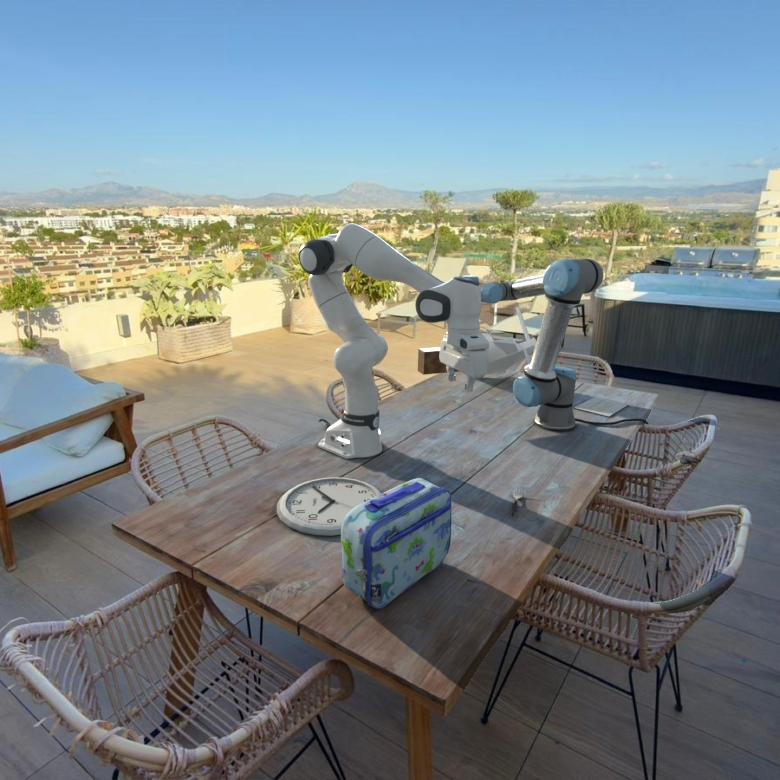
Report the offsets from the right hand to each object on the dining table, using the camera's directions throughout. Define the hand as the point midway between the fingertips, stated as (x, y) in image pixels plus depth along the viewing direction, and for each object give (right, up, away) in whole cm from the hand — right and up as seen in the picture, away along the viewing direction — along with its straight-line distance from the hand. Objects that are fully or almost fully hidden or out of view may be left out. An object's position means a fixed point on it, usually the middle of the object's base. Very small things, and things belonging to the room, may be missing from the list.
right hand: (464, 367), depth 224 cm
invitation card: (+60, -17, +2) cm, 62 cm away
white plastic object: (+24, -6, +34) cm, 43 cm away
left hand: (-12, -8, -76) cm, 77 cm away
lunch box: (-30, -51, -111) cm, 125 cm away
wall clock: (-47, -41, -81) cm, 102 cm away
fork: (+3, -41, -79) cm, 89 cm away
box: (-8, -1, -3) cm, 8 cm away
